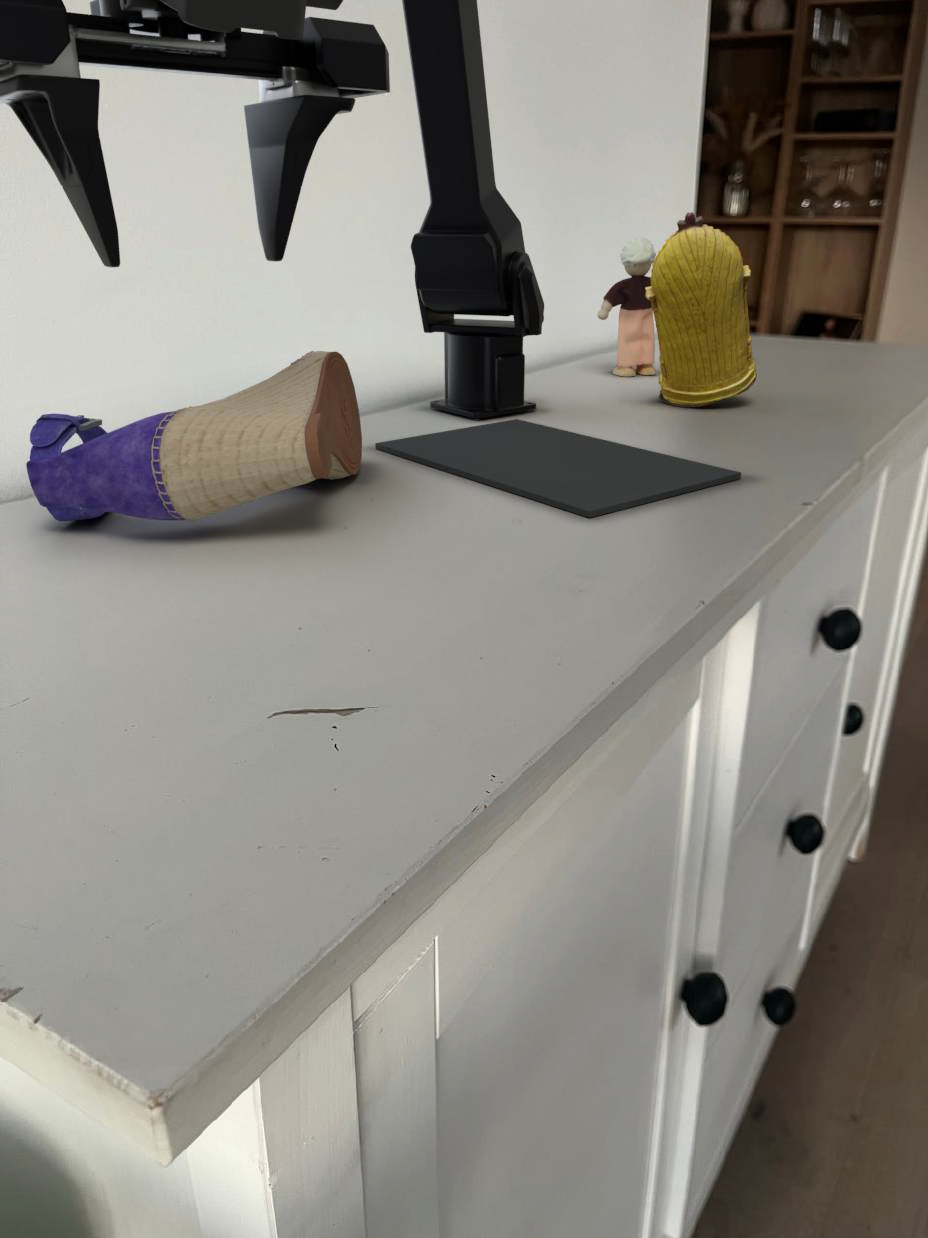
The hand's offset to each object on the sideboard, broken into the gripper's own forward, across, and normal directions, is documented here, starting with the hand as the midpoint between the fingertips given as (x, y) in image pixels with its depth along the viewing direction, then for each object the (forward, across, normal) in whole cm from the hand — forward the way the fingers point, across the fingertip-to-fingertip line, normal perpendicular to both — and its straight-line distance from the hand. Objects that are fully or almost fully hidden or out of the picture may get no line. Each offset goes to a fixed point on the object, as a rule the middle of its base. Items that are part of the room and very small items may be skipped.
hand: (197, 263), depth 45 cm
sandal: (+9, +9, +2) cm, 13 cm away
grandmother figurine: (+13, +54, +22) cm, 60 cm away
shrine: (+13, +46, +7) cm, 48 cm away
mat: (+13, +23, +1) cm, 26 cm away
